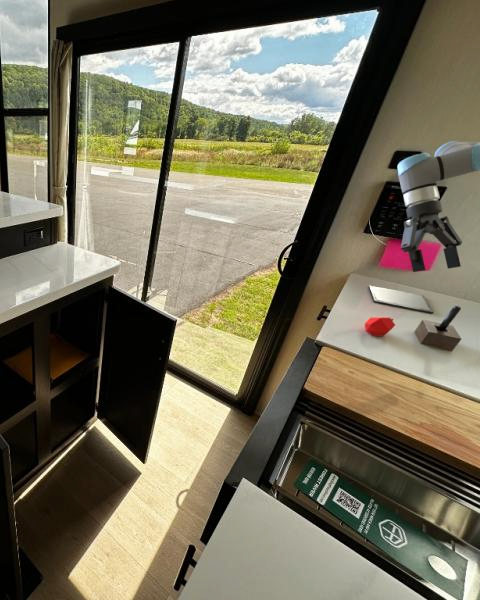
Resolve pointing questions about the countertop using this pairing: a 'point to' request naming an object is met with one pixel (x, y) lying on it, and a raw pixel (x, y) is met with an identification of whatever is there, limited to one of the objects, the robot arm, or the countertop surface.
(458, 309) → the stylus
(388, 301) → the tablet
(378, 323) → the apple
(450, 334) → the block
